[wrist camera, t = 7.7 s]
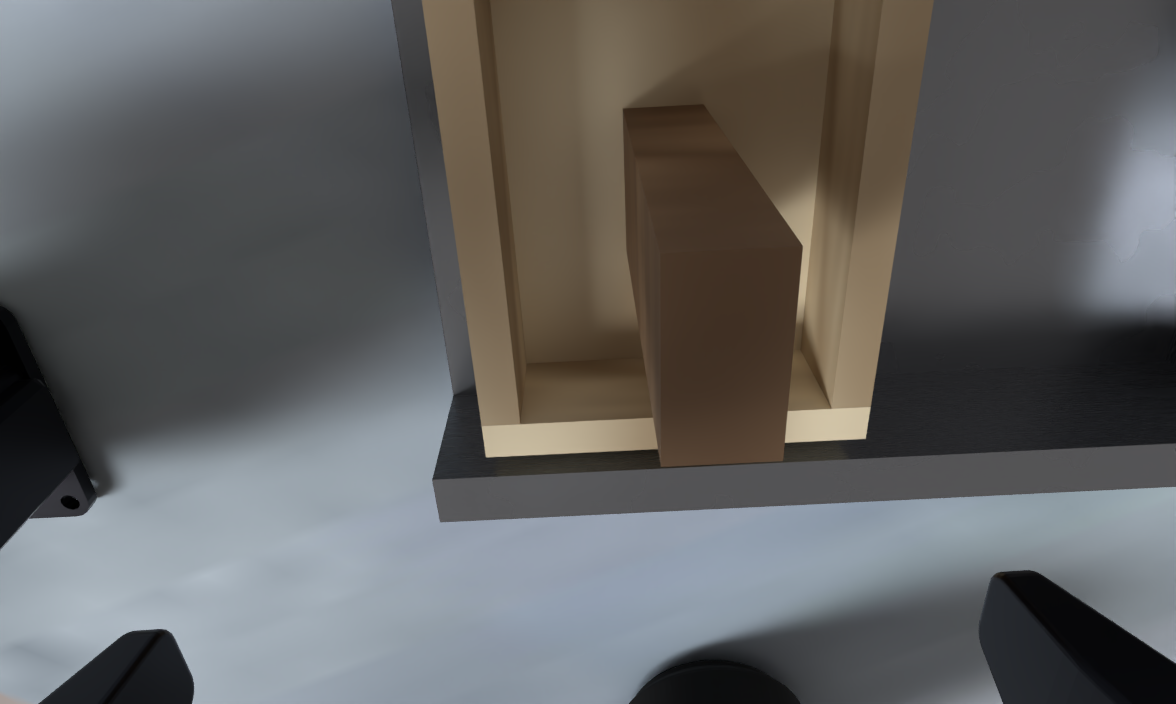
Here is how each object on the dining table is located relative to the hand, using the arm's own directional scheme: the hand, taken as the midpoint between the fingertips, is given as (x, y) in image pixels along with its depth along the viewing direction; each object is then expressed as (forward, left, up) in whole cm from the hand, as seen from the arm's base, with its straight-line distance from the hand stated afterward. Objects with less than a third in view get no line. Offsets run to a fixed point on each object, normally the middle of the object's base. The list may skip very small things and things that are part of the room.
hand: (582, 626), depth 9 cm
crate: (+2, +2, -10) cm, 11 cm away
